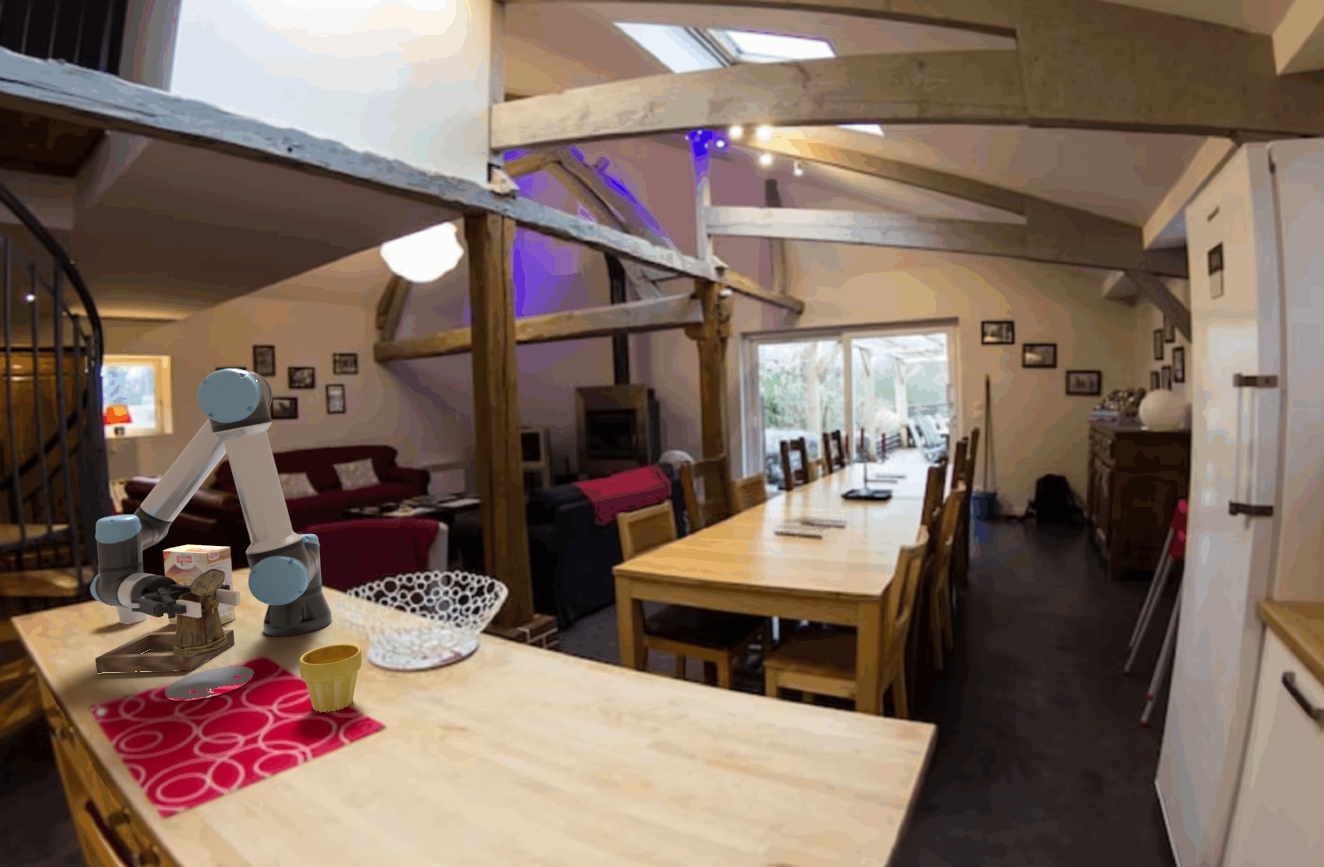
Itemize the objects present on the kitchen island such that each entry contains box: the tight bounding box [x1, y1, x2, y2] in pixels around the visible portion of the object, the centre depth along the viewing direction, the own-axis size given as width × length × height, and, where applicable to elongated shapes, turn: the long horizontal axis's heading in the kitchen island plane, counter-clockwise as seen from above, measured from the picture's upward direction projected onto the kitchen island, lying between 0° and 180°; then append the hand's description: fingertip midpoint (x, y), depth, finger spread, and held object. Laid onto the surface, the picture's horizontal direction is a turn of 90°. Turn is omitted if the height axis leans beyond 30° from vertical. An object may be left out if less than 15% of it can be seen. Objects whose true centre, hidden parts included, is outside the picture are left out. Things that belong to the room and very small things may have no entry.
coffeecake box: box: [162, 544, 237, 626], centre depth 176 cm, size 15×7×20 cm, turn 73°
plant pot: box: [299, 643, 362, 713], centre depth 126 cm, size 10×10×10 cm
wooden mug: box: [172, 569, 227, 657], centre depth 136 cm, size 9×14×18 cm, turn 55°
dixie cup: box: [115, 606, 149, 624], centre depth 180 cm, size 8×8×10 cm
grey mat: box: [164, 665, 255, 699], centre depth 137 cm, size 15×15×1 cm
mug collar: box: [94, 629, 236, 674], centre depth 152 cm, size 20×15×4 cm
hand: (219, 604), depth 134 cm, fingers closed on wooden mug, 7 cm apart
